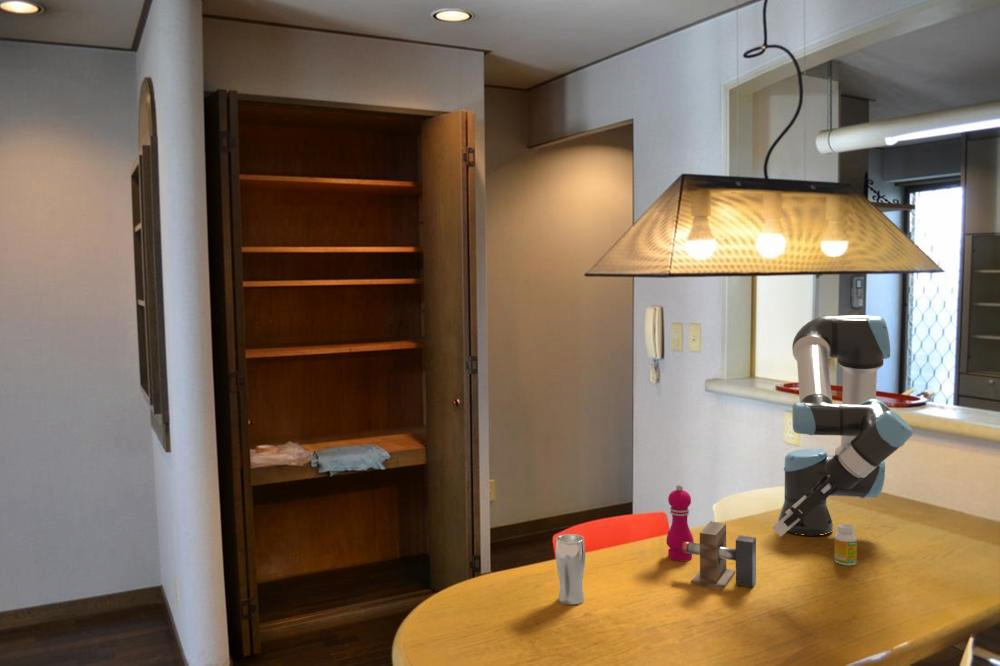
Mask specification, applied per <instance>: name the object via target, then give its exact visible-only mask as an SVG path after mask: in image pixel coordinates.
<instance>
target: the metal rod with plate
mask: <svg viewBox="0 0 1000 666" xmlns="http://www.w3.org/2000/svg"><path fill="white" fill-rule="evenodd" d="M682 552H683V553H689V554H692V555H695V556H696V555H698V556H700V542H699V543H698V542H694V543H692V542H685V541H684V542H683V545H682ZM719 558H721V559H726V560H728V561H735V585H738V586H745V587H751V588H753V587H754V585H755V584H756V582H757V537H753V536H747V535H746V536H745V535H738V536H737V537H736V539H735V548H732V547H726V548H725V547H719Z"/></svg>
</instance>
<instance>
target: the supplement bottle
mask: <svg viewBox="0 0 1000 666" xmlns="http://www.w3.org/2000/svg"><path fill="white" fill-rule="evenodd" d="M836 527H837V532H835V534H834V538H833V539H834V545H833V546H834V552H833V553H834V556H833V557H834V558H833V559H834V562H835V563H837V564H838V563H839V564H838V565H841V564H842V565H843V566H854V565H856V564H857V562H858V537H857V535H856V534H855V526H854V525H852V524H849V523H838V524H837V526H836ZM842 565H841V566H842Z"/></svg>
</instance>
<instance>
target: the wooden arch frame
mask: <svg viewBox="0 0 1000 666" xmlns="http://www.w3.org/2000/svg"><path fill="white" fill-rule="evenodd" d="M699 544H700V555H699V570H698V572H697V573H696V574H695V576H694V577H693V578H692V579H691V580H690V585H693V586H696V587H697V586H698V587H705V588H709V589H715V590H721V591H724V590H725V589H726V587H727V586H728V584H729V583H730V582H731V580H732V578H733V577H734V575H736V569H732V568H731V569H730V568H727V559H721V558H719V547H725V548H727V523H725V522H719V521H712V520H710V521H709V522H708V523H707V524H706V526H704V527H703V529H702V530H701V531H700V532H699Z"/></svg>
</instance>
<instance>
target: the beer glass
mask: <svg viewBox="0 0 1000 666" xmlns="http://www.w3.org/2000/svg"><path fill="white" fill-rule="evenodd" d="M555 540H556V541H555V543H556V544H555V563H556V569H557V574H558V580H559V594H558V601H559V602H560V603H561V604H562V603H564V604H563V605H565V604H570V605H569V606H576V605H575V604H578V605H580V603H581V604H583V603H584V602H583V601H585V595H584V591H583V580H584V573H585V568H586V566H585V565H586V546H585V537H584V536H582V535H580V534H576V533H575V534H574V533H565V534H560V535H558V536H556V539H555ZM582 602H583V603H582ZM573 604H574V605H573Z"/></svg>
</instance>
